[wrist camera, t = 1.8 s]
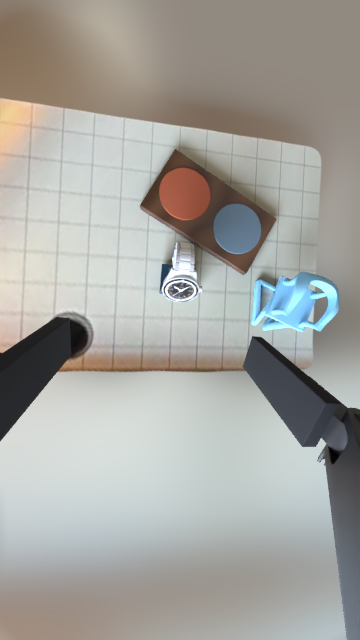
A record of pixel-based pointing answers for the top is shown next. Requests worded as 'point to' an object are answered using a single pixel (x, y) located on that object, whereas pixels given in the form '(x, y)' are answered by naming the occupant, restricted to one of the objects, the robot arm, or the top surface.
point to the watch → (180, 275)
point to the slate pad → (237, 228)
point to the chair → (295, 302)
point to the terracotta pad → (184, 194)
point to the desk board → (206, 214)
